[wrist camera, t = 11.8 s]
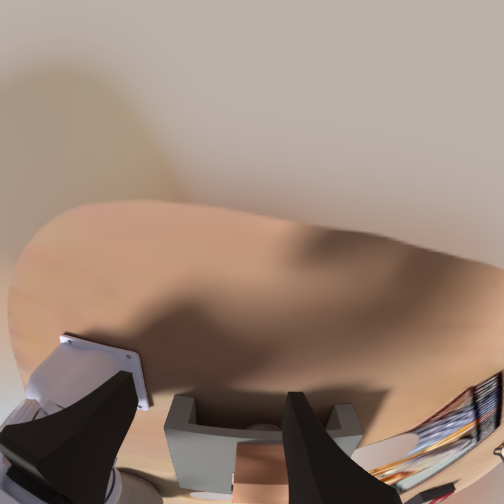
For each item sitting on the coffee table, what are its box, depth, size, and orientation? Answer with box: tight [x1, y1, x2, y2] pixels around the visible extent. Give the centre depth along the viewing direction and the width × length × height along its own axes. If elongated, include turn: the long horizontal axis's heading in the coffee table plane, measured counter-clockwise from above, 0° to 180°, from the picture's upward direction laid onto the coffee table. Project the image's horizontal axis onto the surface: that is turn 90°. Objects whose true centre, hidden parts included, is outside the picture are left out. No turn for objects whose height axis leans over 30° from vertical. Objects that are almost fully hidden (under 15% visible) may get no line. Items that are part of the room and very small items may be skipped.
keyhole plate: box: [164, 395, 364, 494], centre depth 24 cm, size 18×14×4 cm
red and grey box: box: [404, 483, 456, 504], centre depth 35 cm, size 11×4×15 cm
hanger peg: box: [232, 424, 289, 504], centre depth 20 cm, size 5×5×8 cm
